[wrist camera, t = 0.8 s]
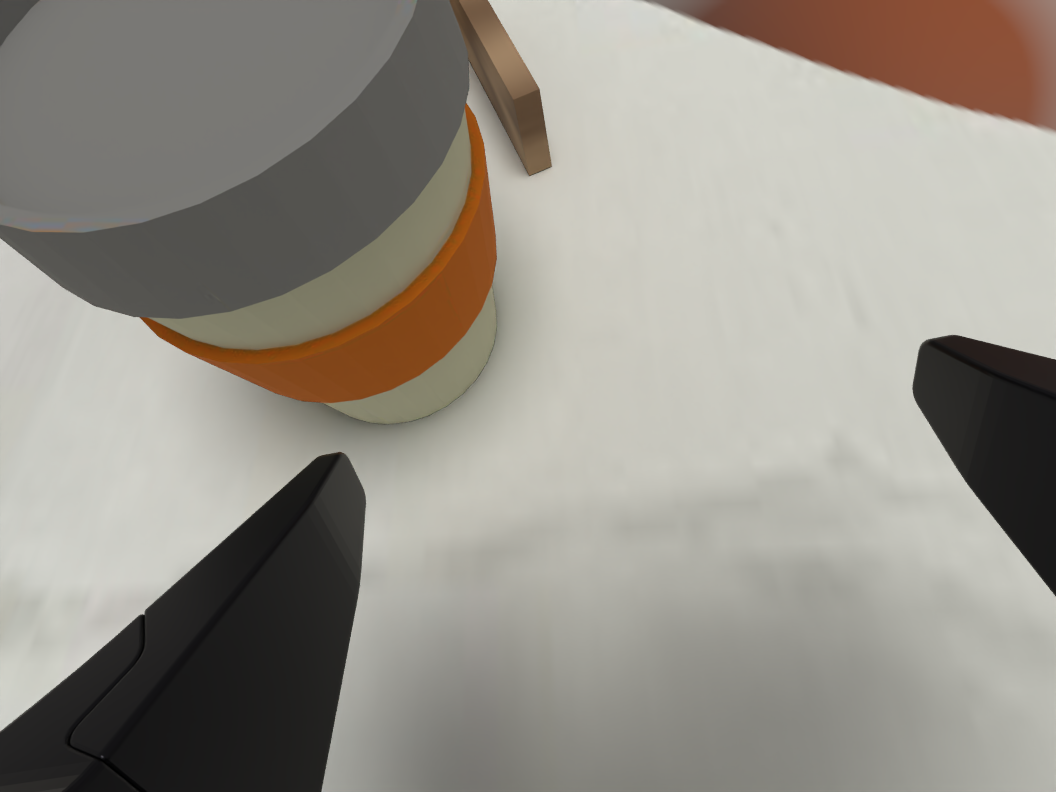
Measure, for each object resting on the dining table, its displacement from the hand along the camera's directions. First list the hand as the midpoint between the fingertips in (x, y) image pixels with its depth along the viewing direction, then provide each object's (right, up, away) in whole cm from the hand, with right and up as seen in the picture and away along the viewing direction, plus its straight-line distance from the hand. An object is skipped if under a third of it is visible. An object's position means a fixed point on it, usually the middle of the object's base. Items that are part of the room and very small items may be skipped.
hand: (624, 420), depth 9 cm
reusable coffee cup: (-7, +3, +18) cm, 20 cm away
